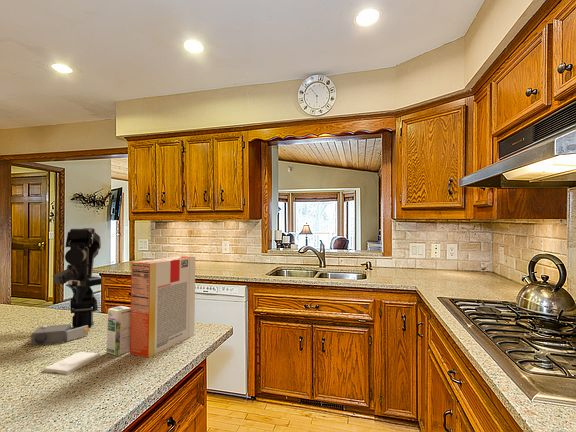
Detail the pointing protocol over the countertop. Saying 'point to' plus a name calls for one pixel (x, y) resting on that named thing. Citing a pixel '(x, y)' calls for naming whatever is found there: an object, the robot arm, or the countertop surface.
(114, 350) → the syrup box
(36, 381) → the countertop surface
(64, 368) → the external hard drive
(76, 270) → the robot arm
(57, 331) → the camera block
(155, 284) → the cereal box
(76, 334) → the side door
